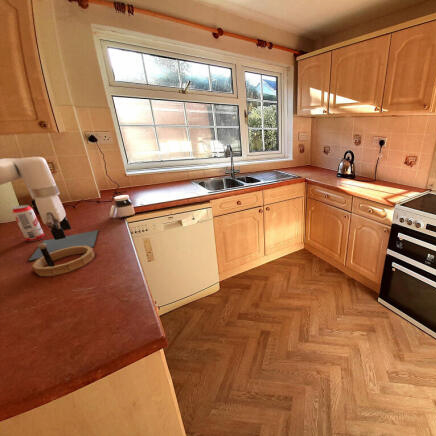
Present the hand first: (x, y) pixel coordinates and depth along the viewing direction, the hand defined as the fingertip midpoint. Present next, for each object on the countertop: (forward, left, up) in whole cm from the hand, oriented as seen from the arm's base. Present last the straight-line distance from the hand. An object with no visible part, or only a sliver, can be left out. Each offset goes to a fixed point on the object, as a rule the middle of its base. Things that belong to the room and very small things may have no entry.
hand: (63, 234), depth 95 cm
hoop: (0, -8, -9) cm, 12 cm away
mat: (-3, +12, -9) cm, 16 cm away
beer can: (-17, +28, -9) cm, 35 cm away
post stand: (-3, -12, -9) cm, 15 cm away
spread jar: (+17, +38, -9) cm, 43 cm away
